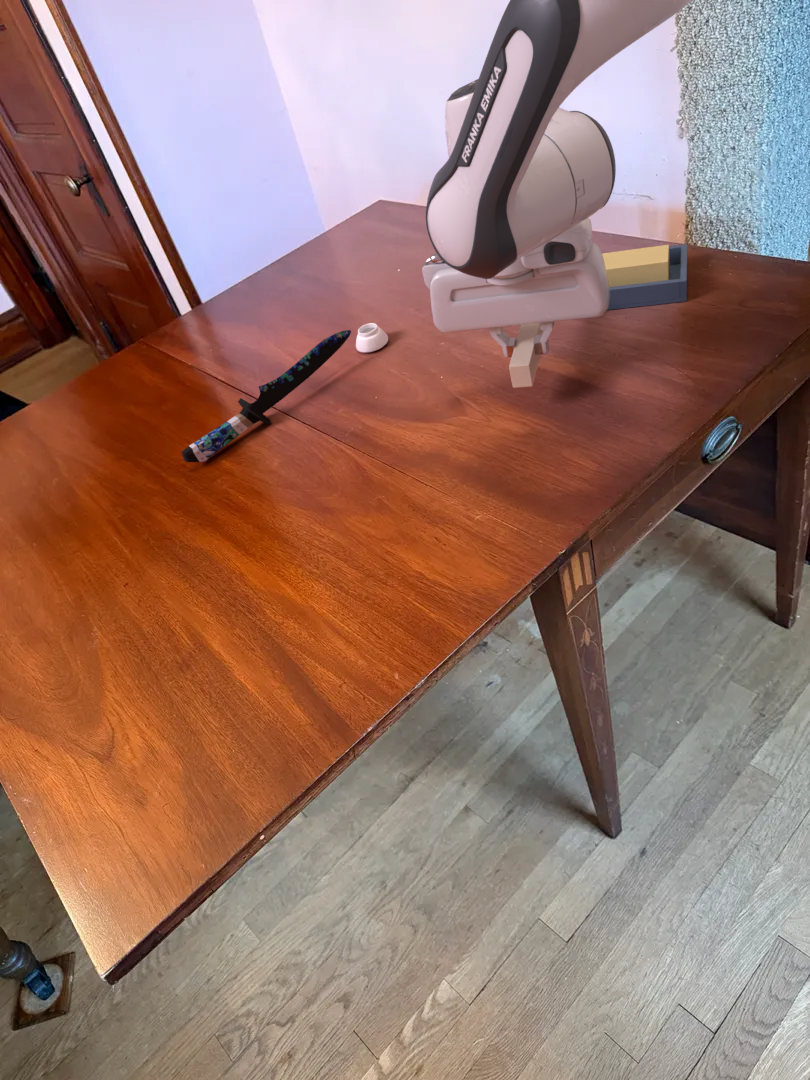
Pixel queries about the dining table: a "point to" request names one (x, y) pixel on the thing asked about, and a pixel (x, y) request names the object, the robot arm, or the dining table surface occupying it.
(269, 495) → the dining table surface
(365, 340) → the lidless jar
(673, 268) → the butter dish
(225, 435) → the knife
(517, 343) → the butter knife
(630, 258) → the butter
